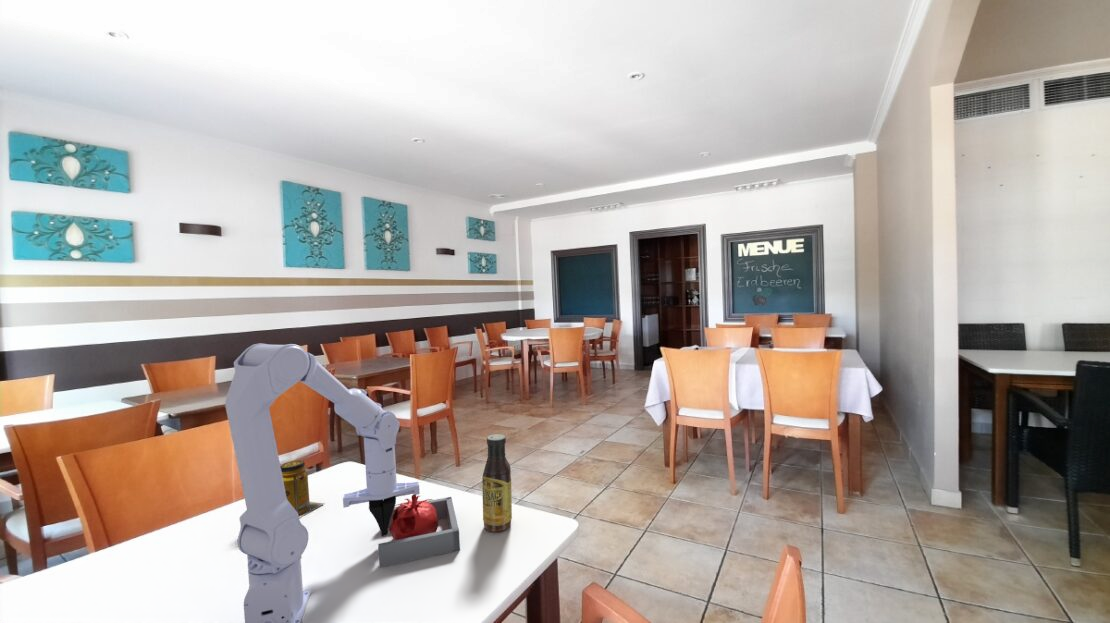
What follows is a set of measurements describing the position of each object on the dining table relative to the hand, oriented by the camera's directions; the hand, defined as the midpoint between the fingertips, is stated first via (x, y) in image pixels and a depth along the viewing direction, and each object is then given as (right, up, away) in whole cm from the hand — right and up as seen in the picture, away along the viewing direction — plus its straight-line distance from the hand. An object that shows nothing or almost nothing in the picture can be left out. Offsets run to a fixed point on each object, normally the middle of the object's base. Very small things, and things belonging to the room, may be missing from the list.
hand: (384, 533), depth 92 cm
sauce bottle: (+23, -1, +6) cm, 23 cm away
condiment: (-27, -3, +17) cm, 33 cm away
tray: (+7, -2, +2) cm, 7 cm away
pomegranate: (+5, -2, +2) cm, 6 cm away
